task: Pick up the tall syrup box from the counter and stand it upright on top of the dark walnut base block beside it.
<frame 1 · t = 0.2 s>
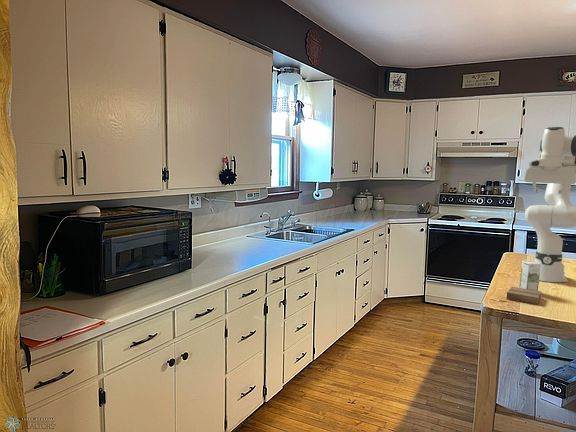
hand: (548, 193, 196), 47 cm above the worktop, tool pointing down, fingers open, 8 cm apart
walnut base: (523, 298, 191), on the worktop
syrup box: (528, 292, 203), on the worktop
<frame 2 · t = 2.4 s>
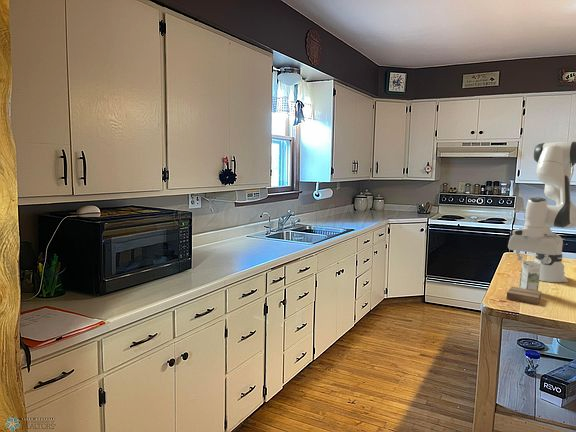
hand: (531, 261, 201), 14 cm above the worktop, tool pointing down, fingers open, 8 cm apart
syrup box: (528, 292, 203), on the worktop, touching gripper
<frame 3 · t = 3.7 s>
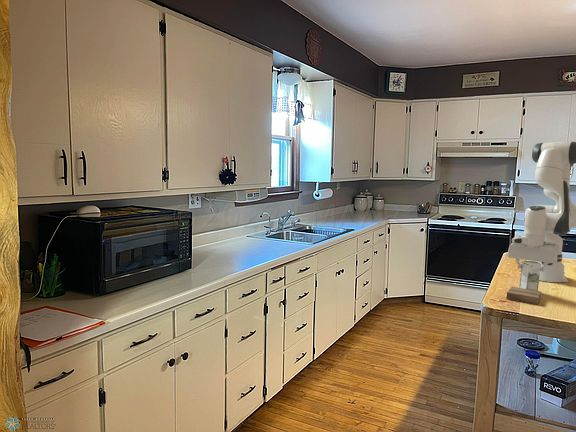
hand: (530, 269, 201), 11 cm above the worktop, tool pointing down, fingers closed on syrup box, 8 cm apart
syrup box: (528, 291, 203), on the worktop, touching gripper
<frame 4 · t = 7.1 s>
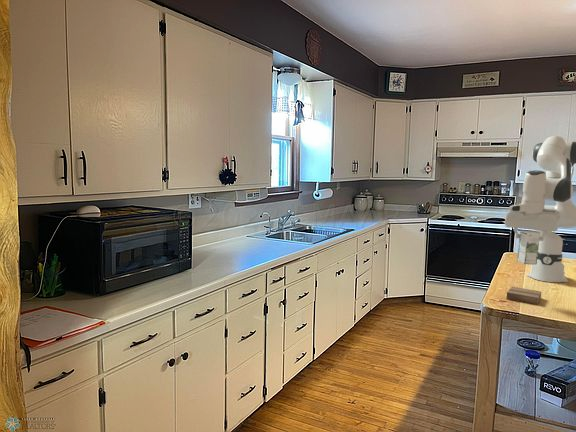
hand: (529, 239, 188), 27 cm above the worktop, tool pointing down, fingers closed on syrup box, 8 cm apart
syrup box: (526, 263, 190), point 16 cm above the worktop, touching gripper
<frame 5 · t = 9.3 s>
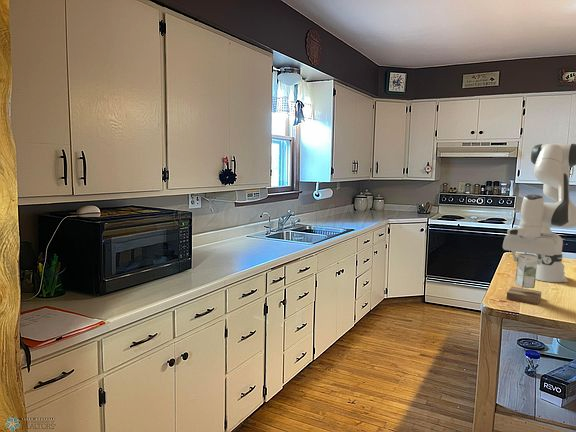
hand: (527, 262, 190), 16 cm above the worktop, tool pointing down, fingers closed on syrup box, 8 cm apart
syrup box: (524, 286, 191), point 5 cm above the worktop, touching gripper
when the fingers open (15 cm above the worktop, at t = 10.9 s): syrup box moves 1 cm, resting on walnut base.
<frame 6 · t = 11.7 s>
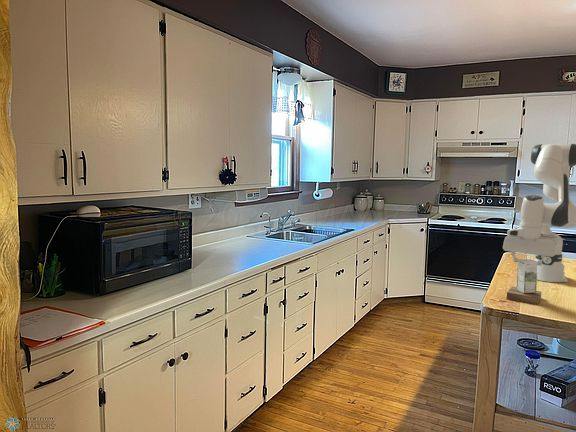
hand: (527, 263, 190), 16 cm above the worktop, tool pointing down, fingers open, 8 cm apart
syrup box: (526, 292, 191), point 3 cm above the worktop, touching gripper, walnut base
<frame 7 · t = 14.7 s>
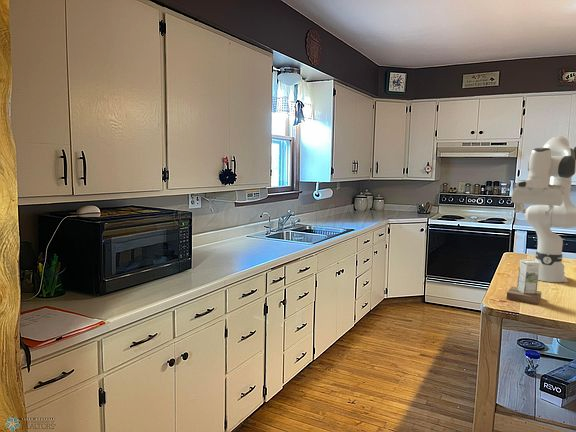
hand: (535, 214, 196), 37 cm above the worktop, tool pointing down, fingers open, 8 cm apart
syrup box: (526, 292, 191), point 3 cm above the worktop, touching walnut base
at the end: syrup box 0.9 cm off-centre on the walnut base, point 2.8 cm above the walnut base's base; syrup box tilted 0°; the gripper is holding nothing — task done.
